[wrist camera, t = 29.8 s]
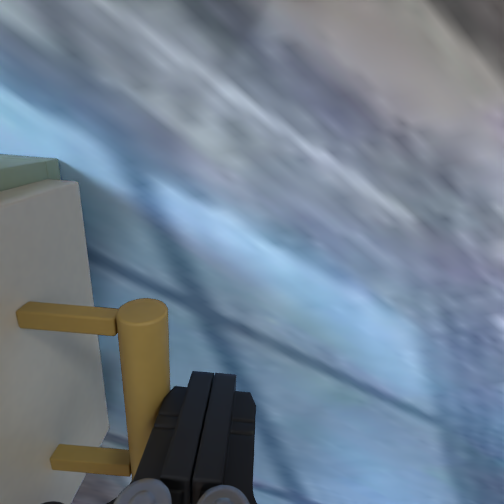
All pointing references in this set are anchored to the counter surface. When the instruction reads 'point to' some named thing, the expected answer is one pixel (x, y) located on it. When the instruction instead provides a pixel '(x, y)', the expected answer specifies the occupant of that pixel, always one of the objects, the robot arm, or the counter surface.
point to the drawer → (66, 353)
